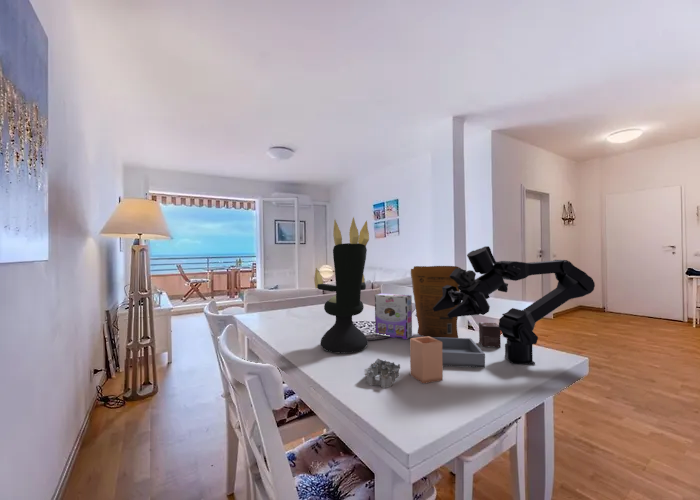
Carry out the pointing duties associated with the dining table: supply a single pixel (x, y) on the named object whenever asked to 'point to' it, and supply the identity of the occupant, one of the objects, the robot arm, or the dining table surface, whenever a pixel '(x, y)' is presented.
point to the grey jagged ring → (382, 373)
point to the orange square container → (426, 359)
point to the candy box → (393, 315)
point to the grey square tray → (461, 352)
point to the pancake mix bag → (433, 300)
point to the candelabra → (346, 291)
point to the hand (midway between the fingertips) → (440, 312)
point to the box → (489, 335)
